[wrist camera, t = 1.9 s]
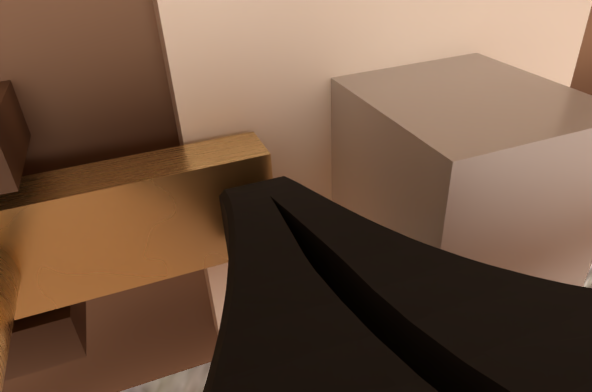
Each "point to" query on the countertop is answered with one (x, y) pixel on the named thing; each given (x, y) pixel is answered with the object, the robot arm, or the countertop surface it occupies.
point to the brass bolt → (117, 224)
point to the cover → (404, 115)
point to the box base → (93, 148)
